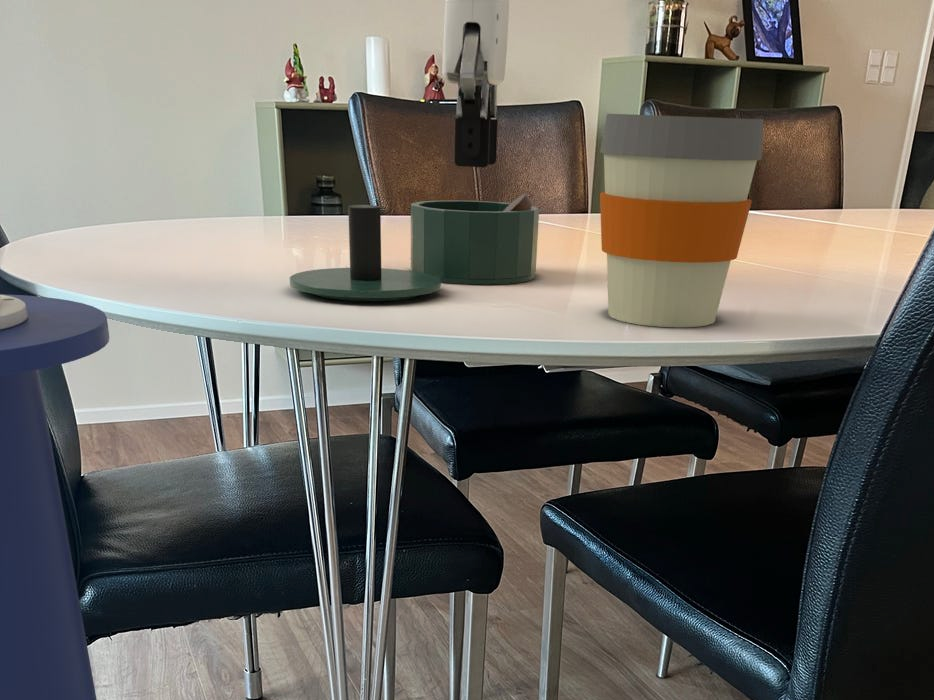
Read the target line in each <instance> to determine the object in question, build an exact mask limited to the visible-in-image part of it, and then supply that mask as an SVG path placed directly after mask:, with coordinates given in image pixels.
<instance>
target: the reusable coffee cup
mask: <svg viewBox="0 0 934 700" xmlns="http://www.w3.org/2000/svg"><path fill="white" fill-rule="evenodd" d="M763 136H764V119H761V118H739V117H738V118H737V117H736V118H734V117H709V116H708V117H707V116H683V115H682V116H681V115H680V116H679V115H656V114H655V115H653V114H630V113H629V114H627V113H606V116H605V123H604V128H603V134H602V138H601V144H600V151H599V153H600V154H603V166H604V168H603V169H604V191H602V192H600V193H599V203H600V204H599V206H600V207H599V208H600V235H601V236H600V237H601V238H600V239H601V241H600V243H601V251H602V252H603V253H604V254H606V271H607V272H606V275H607V278H606V279H607V311H608V316H609V317H610V318H612V319H614V320H617V321H620V322H624V323H628V324H633V325H638V326H639V325H640V326H647V327H648V326H649V327H660V328H696V327H697V328H698V327H704V326H710V325H712V324H714V323H715V321H716V318H717V314H718V310H719V307H720V302H721V299H722V295H723V292H724V287H725V284H726V281H727V276H728V273H729V269H730V265H731V261H733V260H736V259H737V258H738V254H739V250H740V247H741V243H742V240H743V236H744V231H745V228H746V224H747V221H748V216H749V214H750V209H751V205H752V203H753V200H752V199H749V198H748V197H749V192H750V190H751V185H752V181H753V177H754V174H755V171H756V167H757V162H758V161H762V155H763V138H764V137H763Z"/></svg>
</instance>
